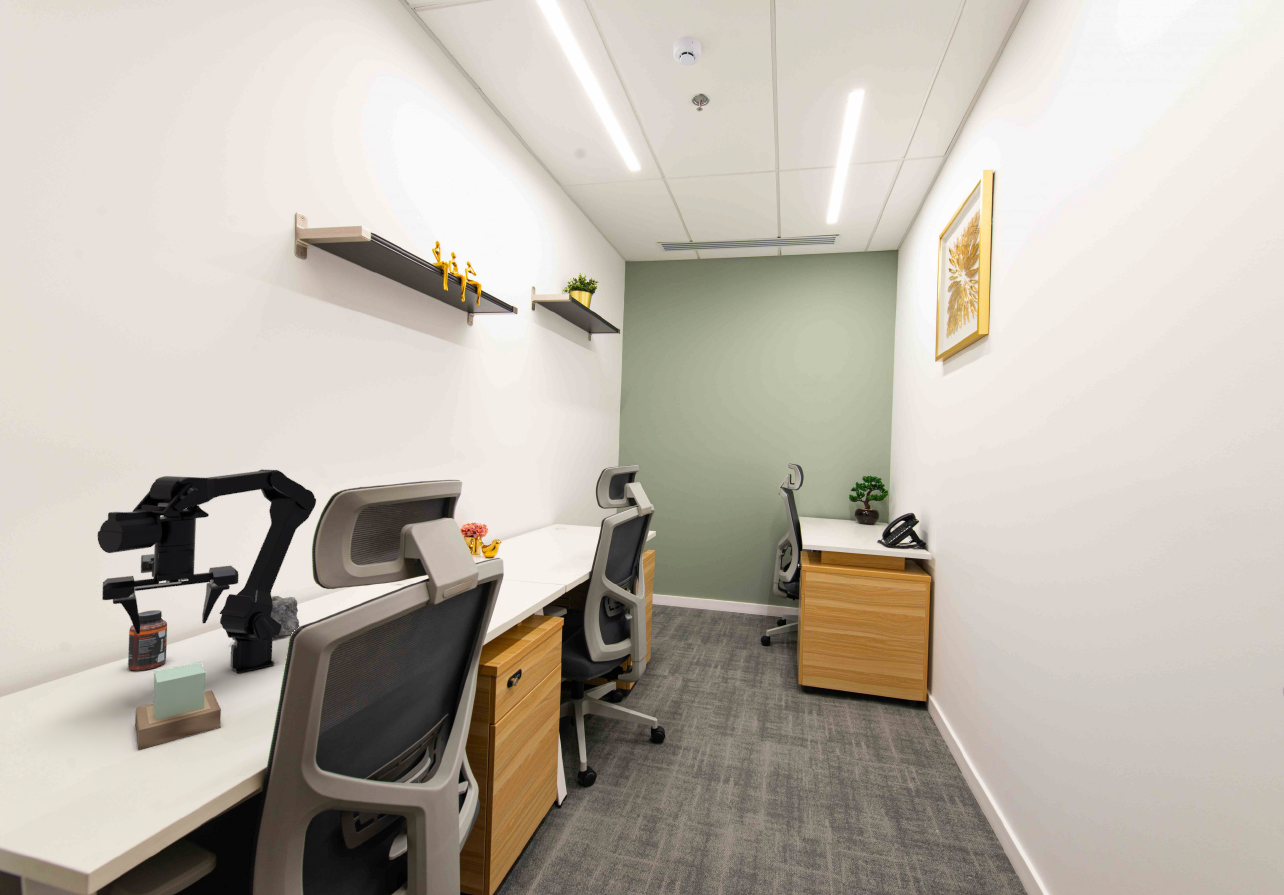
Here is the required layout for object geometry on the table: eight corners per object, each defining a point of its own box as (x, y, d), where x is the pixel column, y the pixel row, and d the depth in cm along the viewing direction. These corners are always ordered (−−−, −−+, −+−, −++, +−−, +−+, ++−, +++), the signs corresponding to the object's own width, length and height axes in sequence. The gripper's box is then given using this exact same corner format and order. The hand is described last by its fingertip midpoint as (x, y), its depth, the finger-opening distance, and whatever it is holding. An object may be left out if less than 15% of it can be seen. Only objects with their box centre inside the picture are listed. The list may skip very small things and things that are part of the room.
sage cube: (199, 696, 94) (200, 661, 94) (204, 708, 90) (205, 672, 90) (153, 707, 90) (154, 671, 90) (155, 720, 85) (157, 682, 86)
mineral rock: (229, 647, 125) (230, 604, 125) (241, 633, 135) (242, 593, 135) (294, 641, 130) (295, 599, 130) (301, 627, 140) (302, 589, 140)
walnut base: (211, 706, 97) (211, 689, 97) (220, 727, 90) (220, 708, 90) (135, 725, 90) (135, 706, 90) (138, 749, 83) (139, 729, 83)
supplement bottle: (172, 663, 115) (173, 610, 115) (136, 673, 109) (138, 618, 110) (157, 658, 117) (159, 606, 118) (121, 668, 112) (123, 614, 112)
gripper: (230, 534, 112) (227, 608, 112) (103, 543, 99) (100, 628, 99) (240, 541, 104) (237, 621, 104) (104, 551, 91) (100, 644, 91)
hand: (172, 627), depth 100 cm, fingers open, 9 cm apart
